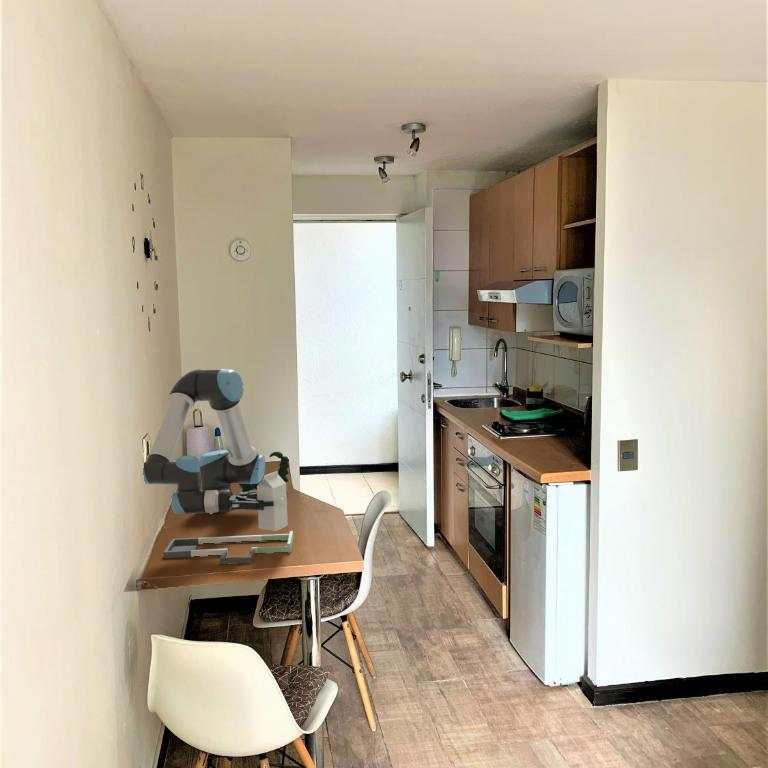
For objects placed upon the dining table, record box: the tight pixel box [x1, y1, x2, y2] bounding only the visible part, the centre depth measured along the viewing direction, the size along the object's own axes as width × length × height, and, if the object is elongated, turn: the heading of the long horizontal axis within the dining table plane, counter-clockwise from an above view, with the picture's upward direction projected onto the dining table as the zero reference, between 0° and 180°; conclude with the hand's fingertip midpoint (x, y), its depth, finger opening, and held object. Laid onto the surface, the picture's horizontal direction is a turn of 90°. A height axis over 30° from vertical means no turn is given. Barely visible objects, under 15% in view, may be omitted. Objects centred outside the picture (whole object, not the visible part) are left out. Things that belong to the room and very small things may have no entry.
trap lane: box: [162, 530, 294, 565], centre depth 259 cm, size 23×42×3 cm, turn 93°
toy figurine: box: [237, 451, 290, 492], centre depth 336 cm, size 9×19×25 cm
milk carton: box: [256, 470, 289, 532], centre depth 262 cm, size 7×7×19 cm
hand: (284, 498), depth 263 cm, fingers closed on milk carton, 10 cm apart
